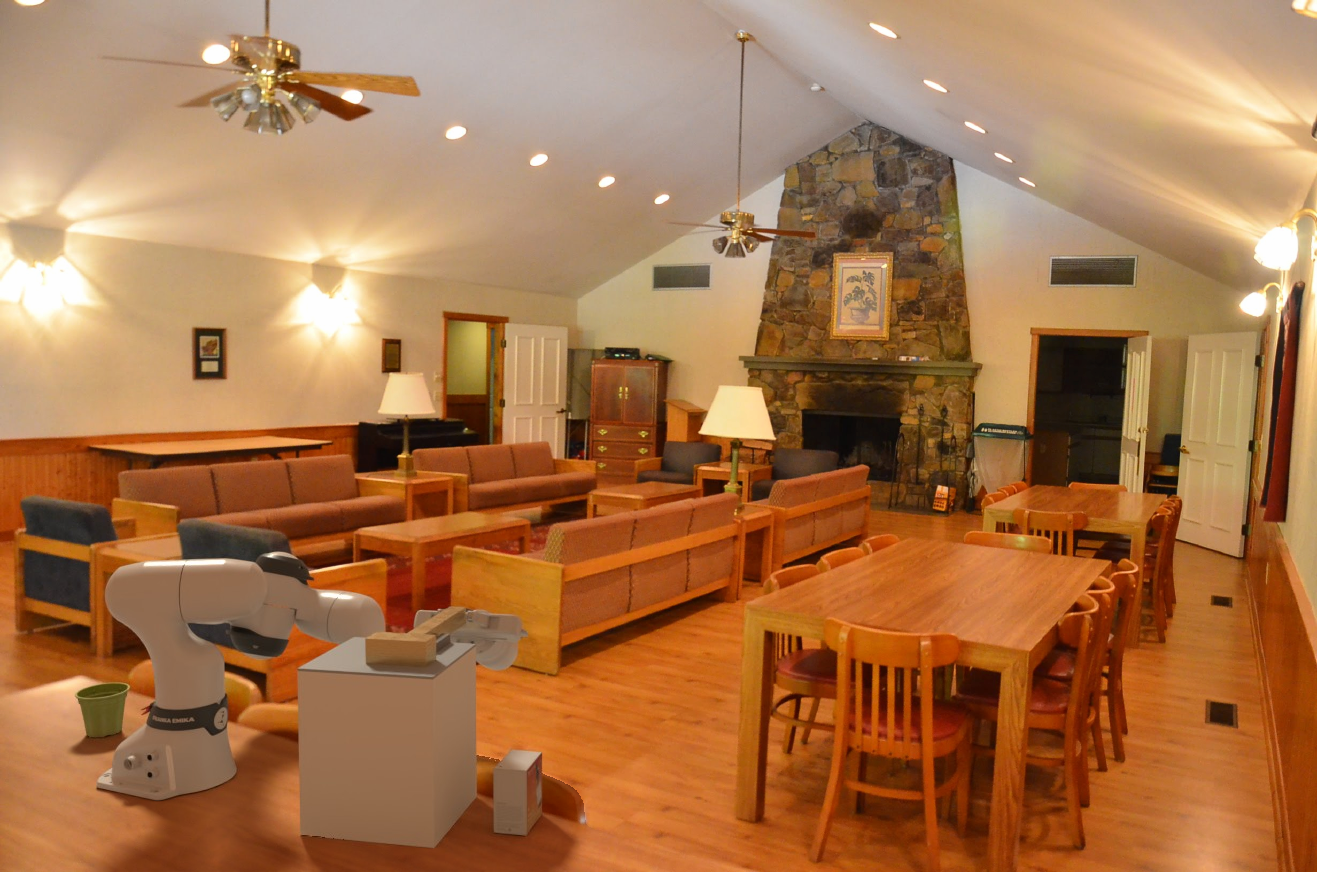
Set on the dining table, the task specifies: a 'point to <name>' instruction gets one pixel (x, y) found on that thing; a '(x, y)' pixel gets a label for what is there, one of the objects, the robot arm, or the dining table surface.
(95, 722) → the plant pot
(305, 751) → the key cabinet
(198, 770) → the robot arm
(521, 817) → the small box
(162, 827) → the dining table surface
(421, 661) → the wooden t-shaped block
